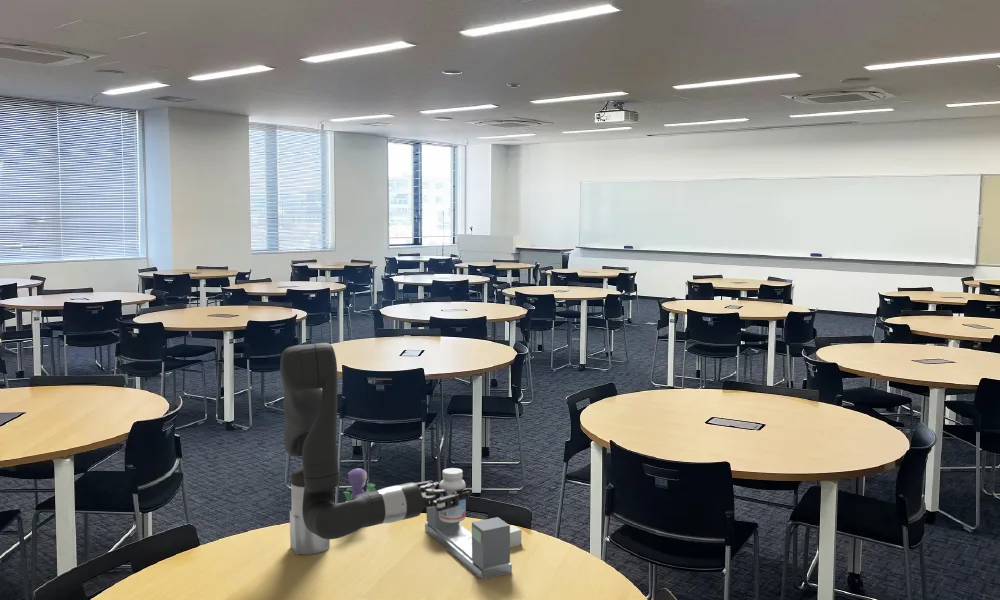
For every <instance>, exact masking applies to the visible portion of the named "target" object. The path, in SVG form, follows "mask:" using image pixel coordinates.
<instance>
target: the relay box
mask: <svg viewBox="0 0 1000 600" xmlns="http://www.w3.org/2000/svg"><path fill="white" fill-rule="evenodd" d="M509 525H510V549H511V548H515V547H517V546H520V545H522V529H521V528H519V527H517V526H515V525H512V524H509Z"/></svg>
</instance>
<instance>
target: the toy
mask: <svg viewBox="0 0 1000 600" xmlns="http://www.w3.org/2000/svg"><path fill="white" fill-rule="evenodd" d="M367 473H368V472H367V471H366V470H365V469H364V468H359V467H358V468H354V469H352V470H350V471H349V472H347V475H348V479H347V480H348V482H349V484H350V486H351V487H352V490H351V492H350V491H342V494H344V496H345V498H346V502H347V501H350V500H351V499H352V498H353V497H354V496H356V495H359V494H363V493H367V492H372V491H377V490H376V488H375V487H376V484H374V483H371V482H369V483H366V480H367V479H368V474H367ZM365 486H366V490H364V489H363V488H364V487H365Z"/></svg>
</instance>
